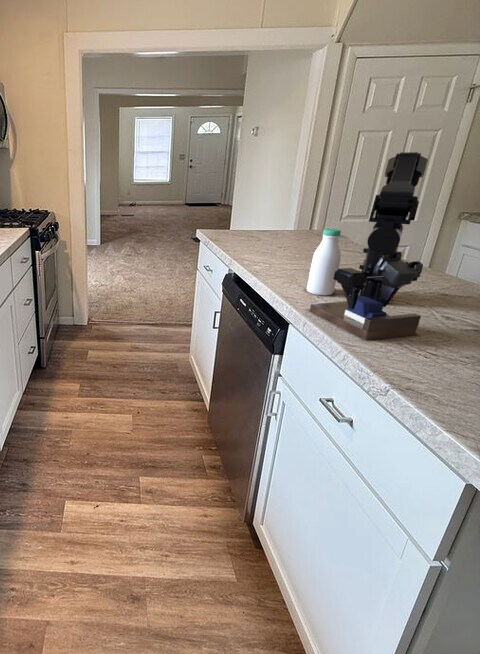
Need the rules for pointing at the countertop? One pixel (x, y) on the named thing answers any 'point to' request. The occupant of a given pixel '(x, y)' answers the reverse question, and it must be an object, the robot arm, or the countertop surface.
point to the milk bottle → (325, 264)
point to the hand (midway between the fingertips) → (367, 307)
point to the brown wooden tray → (368, 322)
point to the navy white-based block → (365, 309)
